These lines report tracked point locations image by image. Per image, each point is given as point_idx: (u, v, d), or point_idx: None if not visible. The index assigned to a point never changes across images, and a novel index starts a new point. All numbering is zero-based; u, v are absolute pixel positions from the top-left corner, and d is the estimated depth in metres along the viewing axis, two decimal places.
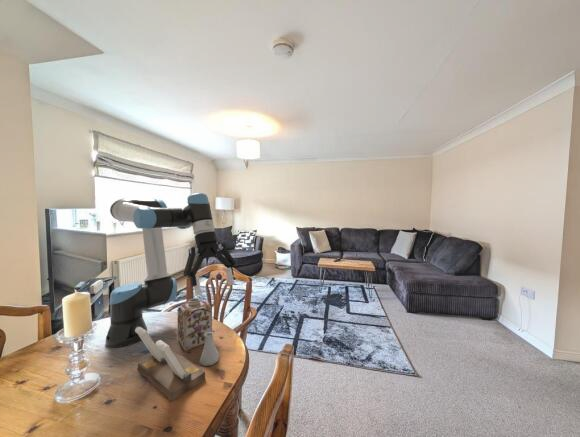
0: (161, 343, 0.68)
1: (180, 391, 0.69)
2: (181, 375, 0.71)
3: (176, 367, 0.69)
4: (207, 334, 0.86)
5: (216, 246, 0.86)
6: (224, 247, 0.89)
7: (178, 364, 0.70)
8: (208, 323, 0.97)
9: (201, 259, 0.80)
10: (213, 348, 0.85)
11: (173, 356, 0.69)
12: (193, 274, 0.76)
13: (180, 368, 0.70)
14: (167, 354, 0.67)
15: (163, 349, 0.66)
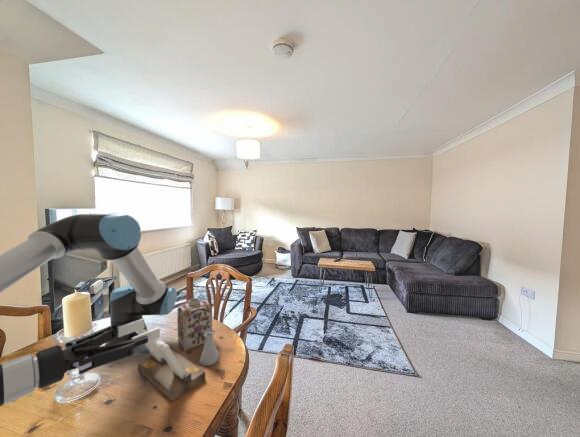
0: (161, 343, 0.68)
1: (180, 391, 0.69)
2: (181, 375, 0.71)
3: (176, 367, 0.69)
4: (207, 334, 0.86)
5: None
6: None
7: (178, 364, 0.70)
8: (208, 323, 0.97)
9: None
10: (213, 348, 0.85)
11: (173, 356, 0.69)
12: None
13: (180, 368, 0.70)
14: (167, 354, 0.67)
15: (163, 349, 0.66)
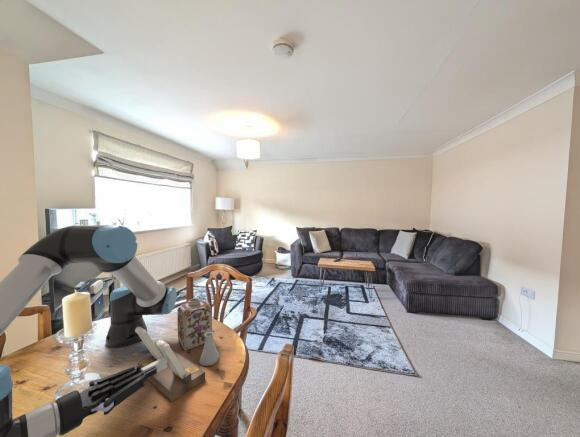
0: (162, 342, 0.68)
1: (180, 391, 0.69)
2: (181, 375, 0.71)
3: (176, 367, 0.70)
4: (207, 334, 0.86)
5: None
6: None
7: (178, 364, 0.70)
8: (208, 323, 0.97)
9: None
10: (213, 348, 0.85)
11: (173, 356, 0.69)
12: None
13: (180, 367, 0.71)
14: (168, 353, 0.67)
15: (164, 348, 0.67)
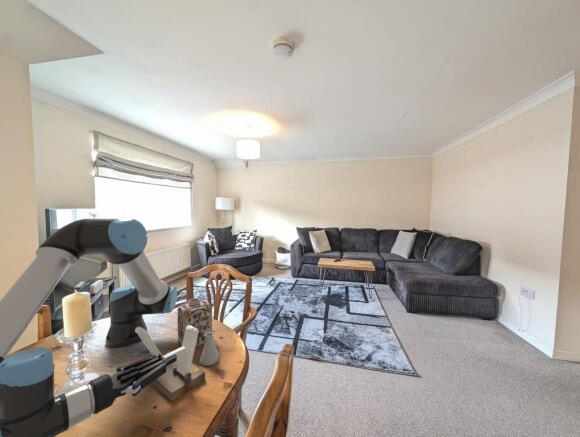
0: (193, 327, 0.77)
1: (180, 391, 0.69)
2: (186, 371, 0.72)
3: (189, 358, 0.73)
4: (207, 334, 0.86)
5: None
6: None
7: (192, 356, 0.74)
8: (208, 323, 0.97)
9: None
10: (213, 348, 0.85)
11: (194, 344, 0.74)
12: None
13: (190, 362, 0.73)
14: (193, 338, 0.74)
15: (194, 330, 0.74)
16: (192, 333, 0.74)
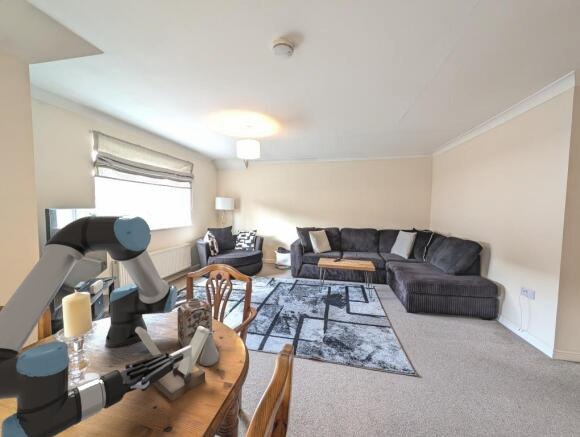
0: None
1: (180, 391, 0.69)
2: (189, 370, 0.73)
3: (195, 357, 0.74)
4: None
5: None
6: None
7: (197, 356, 0.75)
8: (208, 323, 0.97)
9: None
10: (213, 348, 0.85)
11: (202, 345, 0.77)
12: None
13: (194, 362, 0.74)
14: (203, 338, 0.77)
15: (206, 330, 0.78)
16: (203, 333, 0.78)
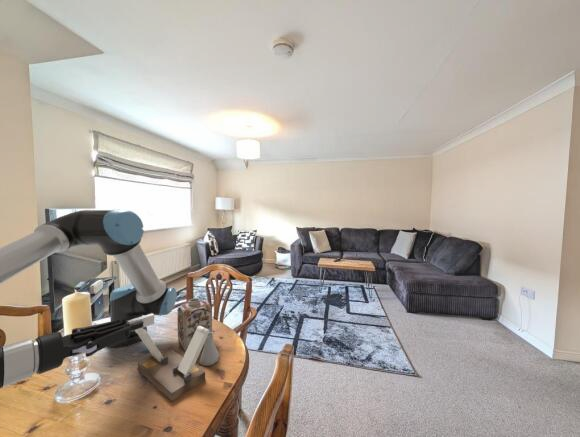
0: None
1: (180, 391, 0.69)
2: (188, 370, 0.73)
3: (194, 357, 0.74)
4: None
5: None
6: None
7: (197, 356, 0.75)
8: (208, 323, 0.97)
9: None
10: (213, 348, 0.85)
11: (202, 345, 0.77)
12: None
13: (194, 362, 0.74)
14: (203, 337, 0.77)
15: (206, 330, 0.78)
16: (203, 332, 0.78)
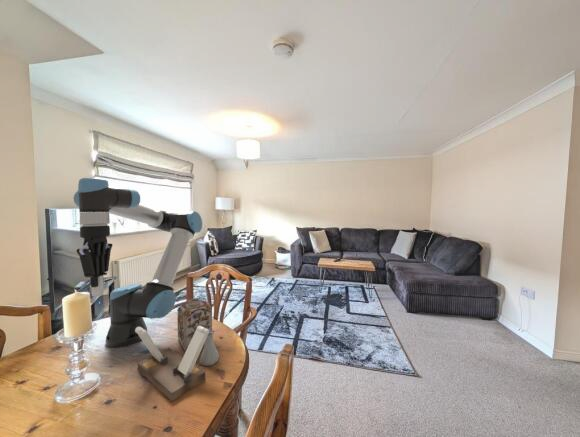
0: None
1: (180, 391, 0.69)
2: (188, 370, 0.73)
3: (194, 357, 0.74)
4: None
5: None
6: None
7: (197, 356, 0.75)
8: (208, 323, 0.97)
9: None
10: (213, 348, 0.85)
11: (202, 345, 0.77)
12: None
13: (194, 362, 0.74)
14: (203, 337, 0.77)
15: (206, 330, 0.78)
16: (203, 332, 0.78)
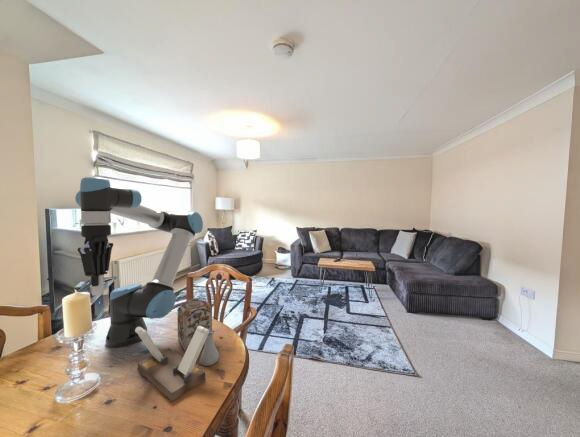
0: None
1: (180, 391, 0.69)
2: (188, 370, 0.73)
3: (194, 357, 0.74)
4: None
5: None
6: None
7: (197, 356, 0.75)
8: (208, 323, 0.97)
9: None
10: (213, 348, 0.85)
11: (202, 345, 0.77)
12: None
13: (194, 362, 0.74)
14: (203, 337, 0.77)
15: (206, 330, 0.78)
16: (203, 332, 0.78)
